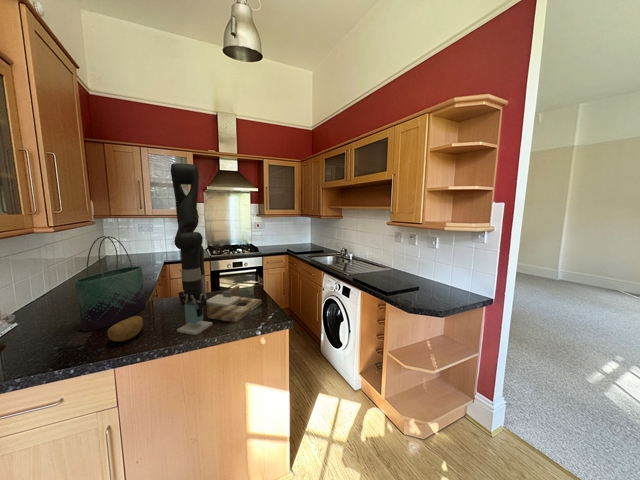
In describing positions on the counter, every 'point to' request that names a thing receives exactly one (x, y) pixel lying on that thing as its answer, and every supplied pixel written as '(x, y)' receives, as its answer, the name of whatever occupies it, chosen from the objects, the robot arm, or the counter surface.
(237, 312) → the puzzle board
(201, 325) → the mat
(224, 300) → the cover
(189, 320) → the block
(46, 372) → the counter surface
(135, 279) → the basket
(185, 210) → the robot arm
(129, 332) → the potato
